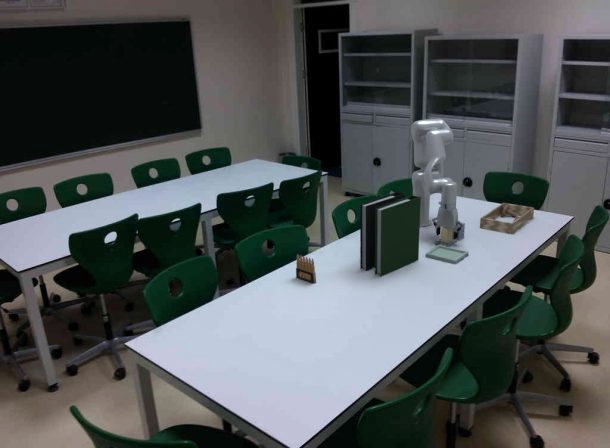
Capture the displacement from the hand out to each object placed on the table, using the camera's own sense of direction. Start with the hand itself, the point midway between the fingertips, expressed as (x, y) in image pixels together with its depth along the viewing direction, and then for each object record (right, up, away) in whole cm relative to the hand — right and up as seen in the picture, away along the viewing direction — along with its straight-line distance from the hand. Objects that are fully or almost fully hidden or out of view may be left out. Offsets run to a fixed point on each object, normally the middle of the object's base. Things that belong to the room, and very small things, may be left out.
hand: (446, 236), depth 280 cm
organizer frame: (+42, +7, +27) cm, 50 cm away
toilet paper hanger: (+43, +8, +30) cm, 53 cm away
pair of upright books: (-34, -13, -22) cm, 42 cm away
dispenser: (+2, -2, +3) cm, 5 cm away
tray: (-4, -9, -15) cm, 18 cm away
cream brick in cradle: (0, -3, +1) cm, 4 cm away
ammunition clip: (-74, -19, -36) cm, 84 cm away
